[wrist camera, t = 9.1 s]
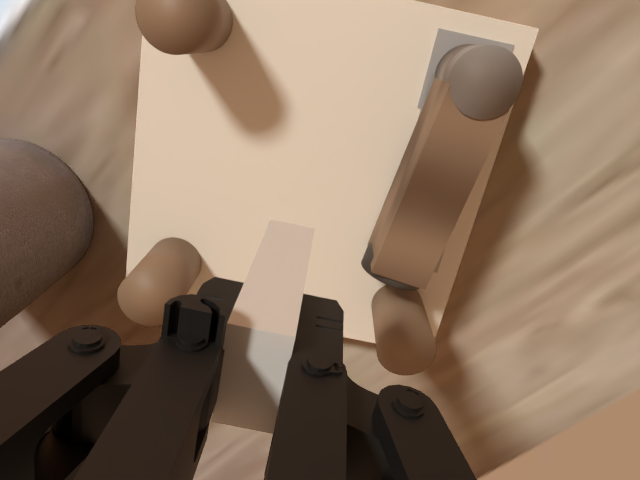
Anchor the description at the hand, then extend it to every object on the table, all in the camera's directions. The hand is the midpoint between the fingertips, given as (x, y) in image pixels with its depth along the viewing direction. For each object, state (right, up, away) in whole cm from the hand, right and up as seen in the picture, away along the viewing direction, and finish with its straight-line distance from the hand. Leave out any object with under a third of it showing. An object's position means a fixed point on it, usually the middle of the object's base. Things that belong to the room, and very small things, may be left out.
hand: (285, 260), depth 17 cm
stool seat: (+1, +5, +14) cm, 15 cm away
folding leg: (+7, +5, +11) cm, 14 cm away
